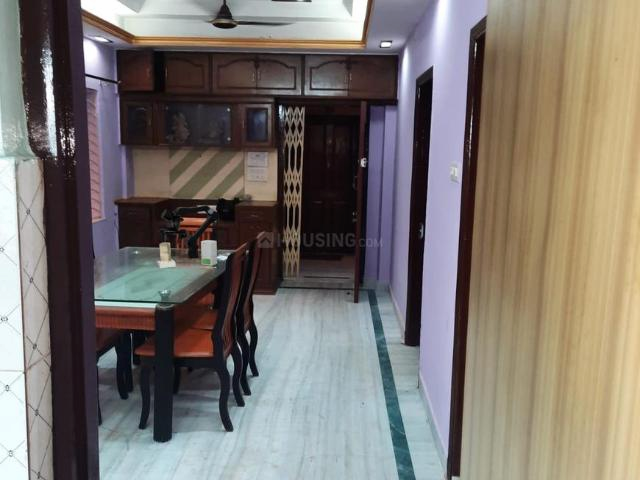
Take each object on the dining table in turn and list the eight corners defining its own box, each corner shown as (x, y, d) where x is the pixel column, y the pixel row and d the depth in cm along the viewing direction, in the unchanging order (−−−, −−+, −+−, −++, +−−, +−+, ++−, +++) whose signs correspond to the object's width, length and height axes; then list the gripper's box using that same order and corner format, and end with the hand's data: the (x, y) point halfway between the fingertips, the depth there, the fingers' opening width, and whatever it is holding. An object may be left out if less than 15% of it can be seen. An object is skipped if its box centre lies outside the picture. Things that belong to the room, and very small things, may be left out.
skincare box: (201, 264, 360) (200, 241, 358) (208, 262, 366) (206, 239, 363) (211, 265, 356) (210, 242, 354) (218, 263, 362) (216, 240, 360)
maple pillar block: (164, 260, 362) (162, 242, 360) (171, 260, 362) (169, 242, 360) (160, 262, 358) (159, 244, 356) (168, 262, 357) (166, 243, 355)
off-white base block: (172, 263, 367) (172, 259, 366) (175, 266, 358) (175, 261, 357) (157, 265, 362) (156, 261, 362) (159, 268, 354) (159, 263, 353)
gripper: (158, 217, 369) (152, 237, 360) (185, 217, 366) (180, 236, 358) (163, 226, 378) (158, 245, 370) (190, 226, 376) (185, 245, 367)
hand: (170, 243), depth 366 cm, fingers open, 9 cm apart
